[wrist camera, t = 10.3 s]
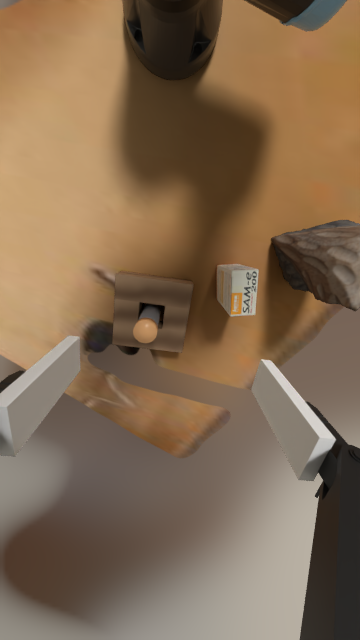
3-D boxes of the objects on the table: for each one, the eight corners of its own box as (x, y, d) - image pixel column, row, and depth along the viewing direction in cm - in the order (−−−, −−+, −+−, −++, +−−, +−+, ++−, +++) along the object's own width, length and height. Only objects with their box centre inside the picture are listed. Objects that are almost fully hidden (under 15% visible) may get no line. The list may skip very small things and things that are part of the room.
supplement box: (236, 298, 49) (256, 316, 37) (216, 299, 49) (229, 317, 37) (237, 262, 46) (260, 268, 34) (216, 263, 46) (231, 270, 34)
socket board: (121, 270, 46) (115, 273, 42) (191, 280, 48) (193, 284, 43) (118, 335, 52) (112, 344, 47) (181, 343, 53) (182, 352, 48)
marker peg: (144, 299, 49) (133, 319, 36) (162, 302, 49) (158, 323, 36) (143, 316, 50) (132, 341, 37) (160, 318, 51) (155, 344, 37)
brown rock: (330, 220, 44) (445, 202, 25) (329, 279, 48) (427, 300, 29) (270, 235, 45) (339, 228, 26) (274, 291, 49) (337, 320, 30)
